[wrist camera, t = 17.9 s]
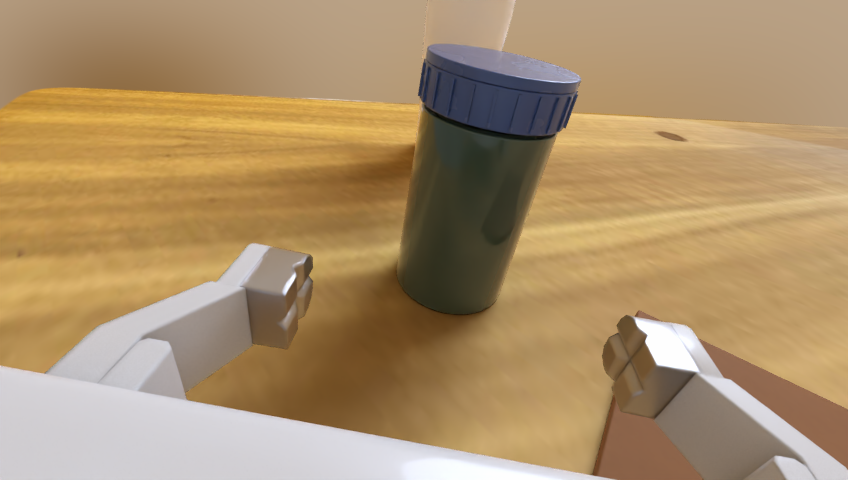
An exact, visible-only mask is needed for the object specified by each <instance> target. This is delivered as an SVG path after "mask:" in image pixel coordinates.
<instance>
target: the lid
mask: <svg viewBox="0 0 848 480" xmlns="http://www.w3.org/2000/svg"><path fill="white" fill-rule="evenodd" d="M580 82H581V78H580V77H579V76H578V75H577V74H575V73H573V72H571V71H569V70H567V69H565V68H561V67H559V66H556V65H553V64H550V63H547V62H543V61H540V60H536V59H532V58H529V57H525V56H520V55H517V54H512V53H507V52H503V51H498V50H492V49H487V48H481V47H474V46H466V45H457V44H433V45H429V46H428V47H427V52H426V59H424V62H423V66H422V73H421V80H420V87H419V93H418V96H420V99H421V101H422V102H423V104H424V105H426V106H427V107H428V108H430V109H431V110H433V111H434V112H436V113H439V114H440V115H443V116H445V117H447V118H449V119H452V120H455V121H458V122H461V123H463V124H467V125H470V126H474V127H478V128H482V129H485V130H490V131H495V132H501V133H507V134H515V135H525V136H544V135H552V134H556V133H558V132H560V131H561V130H562V129H563V128H566V126H567V123H568V120H569V118H570V115H571V112H572V109H573V107H574V104H575V102H576V99H577V96H578V95H577V92H578V91H577V90H578V87H579V84H580Z"/></svg>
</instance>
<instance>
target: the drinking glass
mask: <svg viewBox="0 0 848 480" xmlns="http://www.w3.org/2000/svg"><path fill="white" fill-rule="evenodd" d="M515 2H516V0H427V7H426V16H425V28H424V42H423V58H422V66H423V62H424V59H426V52H427V47H428V46H429V45H433V44H457V45H466V46H474V47H481V48H487V49H492V50H498V51H502V48H503V45H504V42H505V39H506V36H507V33H508V28H509V25H510V22H511V18H512V14H513V10H514V6H515ZM422 103H423V102H422V101H421V99H420V102H419V115H418V126H419V120H420V113H421V107H422ZM418 126H417V132H416V139H417V133H418ZM415 141H416V140H415Z"/></svg>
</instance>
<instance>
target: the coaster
mask: <svg viewBox="0 0 848 480" xmlns="http://www.w3.org/2000/svg"><path fill="white" fill-rule="evenodd" d="M635 317H639V318H645V319H650V320H655V321H660V320H658V319H656V318H654V317H652V316H650V315H648V314H646V313H644V312H642V311H638V312H637V314H636V315H635ZM661 322H663V321H661ZM698 340H699V341H700V343H701V344H702V346H703V347H704V349H705V350H706V352H707V353H708V355H709V356H710V358H711V359H712V361H713V362H714V364H715V365H716V367H717V368H718V370H719V371H720V373H721V374H722V376H723V377H724V378H725V379H730V380H732V381H733V382H734V383H736V384H737V385H738V386H740V387H741V388H742V389H744V390H745V391H746V392H747V393H749V394H750V395H751V396H753V397H754V398H755V399H757V400H758V401H759V402H761V403H762V404H763V405H765V406H766V407H767V408H768V409H770V410H771V411H772V412H774V413H775V414H776V415H778V416H779V417H780V418H782V419H783V420H784V421H786V422H787V423H788V424H789V425H791V426H792V427H793V428H795V429H796V430H797V431H799V432H800V433H801V434H803V435H804V436H805V437H807V438H808V439H809V440H811V441H812V442H813V443H814V444H816V445H817V446H818V447H820V448H821V449H822V450H824V451H825V452H826V453H828V454H829V455H830V456H832V457H833V458H834V459H835V460H837V461H838V462H839V463H841V464H842V465H843V466H845V467H846V468H847V470H848V409H846V408H844V407H842V406H840V405H837V404H835V403H833V402H831V401H829V400H827V399H825V398H823V397H821V396H818V395H816V394H814V393H812V392H810V391H808V390H806V389H804V388H802V387H800V386H797V385H795V384H793V383H791V382H789V381H787V380H785V379H783V378H781V377H778V376H776V375H774V374H772V373H770V372H768V371H766V370H764V369H762V368H759V367H757V366H755V365H753V364H751V363H749V362H747V361H745V360H743V359H741V358H738V357H736V356H734V355H732V354H730V353H728V352H726V351H724V350H722V349H719V348H717V347H715V346H713V345H711V344H709V343H707V342H705V341H703V340H701V339H698ZM654 420H655V419H651V418H647V417H642V416H637V415H633V414H628V413H624V412H620V410H619V407H618V404H617V402H616V399H615V396H613V400H612V403H611V407H610V411H609V415H608V419H607V423H606V426H605V430H604V434H603V438H602V442H601V445H600V449H599V453H598V457H597V461H596V464H595V468H594V472H593V476H598V477H604V478H609V479H615V480H704V479H703V478H702V477H701V476H700V475H699V473H698V472H697V471H696V470H695V469H694V467H693V466H692V465H691V464H690V463H689V462H688V460H687V459H686V458H685V457H684V456H683V455H682V453H681V452H680V451H679V450H678V449H677V448H676V446H675V445H674V444H673V443H672V442H671V440H670V439H669V438H668V437H667V436H666V435H665V433H664V432H663V431H662V430H661V429H660V428H659V426H658V425H657V424H656V423H655V422H654Z"/></svg>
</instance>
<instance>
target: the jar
mask: <svg viewBox="0 0 848 480" xmlns="http://www.w3.org/2000/svg"><path fill="white" fill-rule="evenodd" d="M557 134H558V133H556V134H552V135H544V136H525V135H515V134H507V133H501V132H495V131H490V130H485V129H482V128H478V127H474V126H470V125H467V124H463V123H461V122H458V121H455V120H452V119H449V118H447V117H445V116H443V115H440V114H439V113H436V112H434V111H433V110H431V109H430V108H428V107H427V106H426V105H424V104H423V103H422V107H421V113H420V120H419V126H418V133H417V139H416V146H415V152H414V159H413V165H412V171H411V178H410V184H409V191H408V197H407V204H406V210H405V217H404V223H403V230H402V236H401V243H400V249H399V256H398V262H397V269H396V273H397V278H398V281H399V283H400V285H401V287H402V288H403V290H404V291H405V292H406V293H407V294H408V295H409V296H410V297H411V298H413V299H414V300H415V301H417V302H418V303H420V304H422V305H424V306H425V307H428V308H430V309H433V310H436V311H439V312H443V313H448V314H462V315H463V314H472V313H477V312H480V311H482V310H484V309H486V308H488V307H489V306H491V305H492V304H493V303H494V302H495V301H496V300H497V298H498V296H499V293H500V291H501V288H502V285H503V282H504V280H505V277H506V274H507V271H508V269H509V266H510V263H511V260H512V258H513V255H514V252H515V249H516V247H517V244H518V241H519V238H520V236H521V233H522V230H523V227H524V225H525V222H526V219H527V216H528V214H529V211H530V208H531V205H532V203H533V200H534V197H535V195H536V192H537V189H538V186H539V184H540V181H541V178H542V175H543V173H544V170H545V167H546V164H547V162H548V159H549V156H550V153H551V151H552V148H553V145H554V142H555V140H556V137H557Z"/></svg>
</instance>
